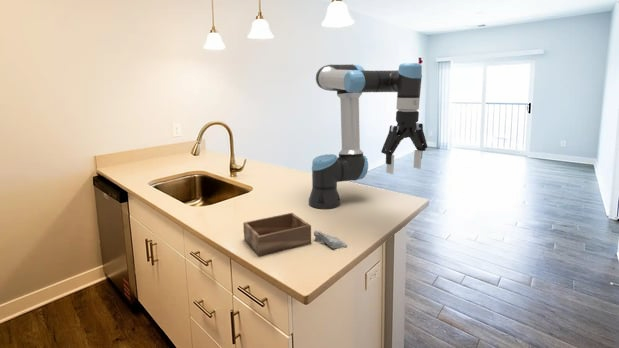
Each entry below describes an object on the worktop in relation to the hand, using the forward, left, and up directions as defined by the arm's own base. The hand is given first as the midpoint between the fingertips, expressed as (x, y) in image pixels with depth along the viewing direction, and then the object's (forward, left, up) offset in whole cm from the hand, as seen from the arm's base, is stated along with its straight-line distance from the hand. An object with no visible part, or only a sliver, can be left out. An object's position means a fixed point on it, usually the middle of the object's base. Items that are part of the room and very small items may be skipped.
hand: (403, 170), depth 125 cm
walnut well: (-19, -42, -26) cm, 53 cm away
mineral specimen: (-8, -26, -26) cm, 38 cm away
